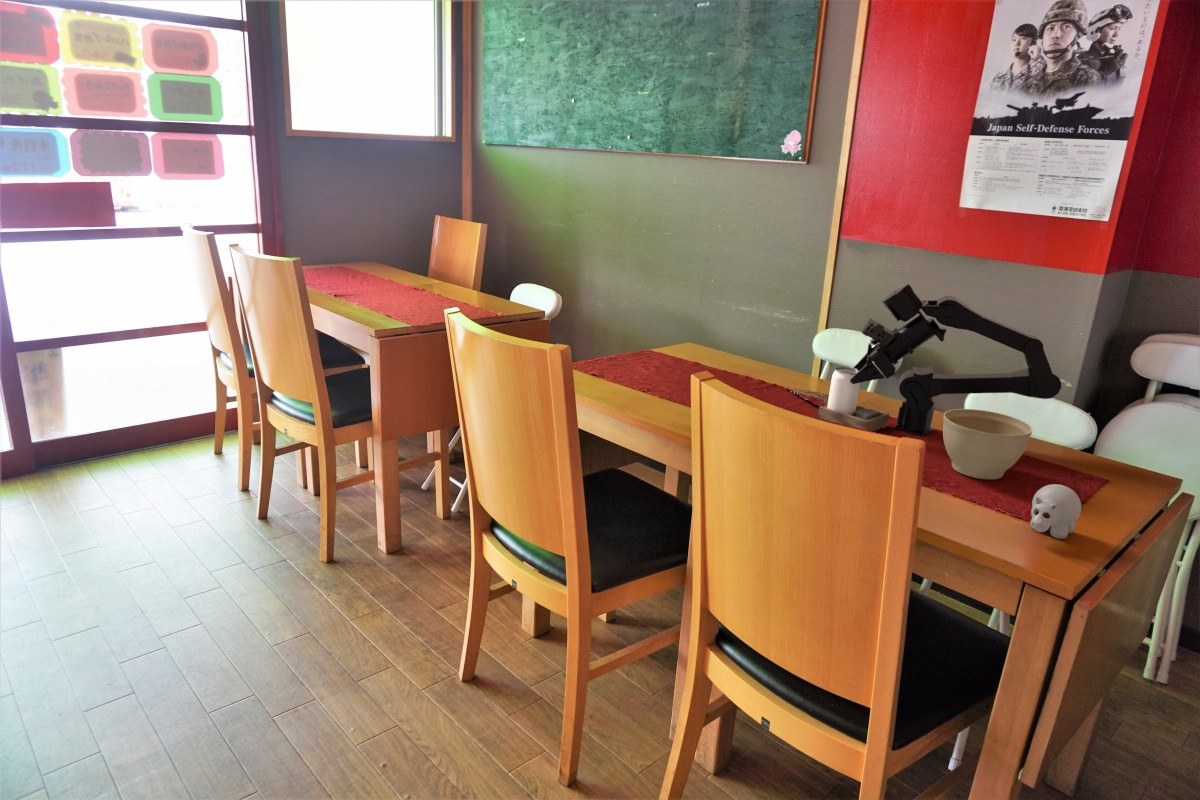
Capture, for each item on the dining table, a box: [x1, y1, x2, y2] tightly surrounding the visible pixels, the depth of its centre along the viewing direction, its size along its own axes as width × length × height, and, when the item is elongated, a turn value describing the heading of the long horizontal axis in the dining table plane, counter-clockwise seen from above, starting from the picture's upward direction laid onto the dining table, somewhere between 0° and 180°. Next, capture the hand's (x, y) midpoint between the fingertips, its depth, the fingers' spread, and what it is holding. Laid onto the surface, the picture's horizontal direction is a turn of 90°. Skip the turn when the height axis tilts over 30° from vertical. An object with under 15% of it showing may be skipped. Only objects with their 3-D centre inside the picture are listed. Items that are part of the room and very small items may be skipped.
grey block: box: [856, 408, 879, 420], centre depth 182 cm, size 4×7×4 cm, turn 133°
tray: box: [816, 404, 890, 432], centre depth 184 cm, size 12×10×3 cm
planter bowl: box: [942, 408, 1033, 480], centre depth 158 cm, size 16×16×11 cm
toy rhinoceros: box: [1029, 483, 1082, 540], centre depth 132 cm, size 7×12×8 cm, turn 130°
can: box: [827, 366, 861, 414], centre depth 185 cm, size 6×6×12 cm
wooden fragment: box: [784, 387, 829, 408], centre depth 199 cm, size 26×11×1 cm, turn 31°
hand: (851, 377), depth 183 cm, fingers open, 9 cm apart
